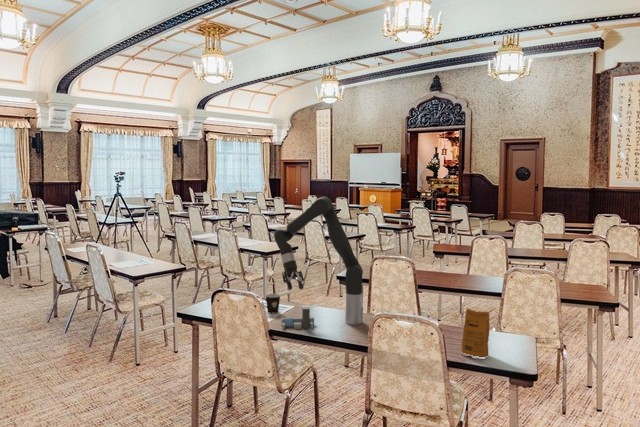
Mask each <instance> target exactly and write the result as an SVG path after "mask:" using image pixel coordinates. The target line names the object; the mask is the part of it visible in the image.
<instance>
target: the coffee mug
mask: <svg viewBox="0 0 640 427" xmlns="http://www.w3.org/2000/svg"><path fill="white" fill-rule="evenodd" d="M261 299H262V300H265V302H266V305H264V306H265V308H266V309H267V313H268V314H278V312H279V308H280V300H281V294H278V293H269V294H266V295H265V298H264V297H263V298H261Z"/></svg>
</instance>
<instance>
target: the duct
mask: <svg viewBox="0 0 640 427" xmlns="http://www.w3.org/2000/svg"><path fill="white" fill-rule="evenodd" d="M280 323H281V327H282V328H281V329H282V330H286V327H285V326H287V327H293V329H294V330H301V329H302V330H303V328H302V317H285V318H284V317H282V318H281V322H280ZM314 326H315V317H313V316H310V324H309V329H314Z"/></svg>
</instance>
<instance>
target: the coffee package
mask: <svg viewBox="0 0 640 427" xmlns="http://www.w3.org/2000/svg"><path fill="white" fill-rule="evenodd" d="M465 310H466V311H465V315H464V316H465V317H464V325H463V329H462V330H463V332H462V339H461V351H462V352H463V353H466V354H470V355H473V356H479V357H486V356H489V338H490V337H489V336H490V311H476V310H473V309H471V308H466V309H465Z"/></svg>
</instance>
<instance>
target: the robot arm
mask: <svg viewBox="0 0 640 427" xmlns="http://www.w3.org/2000/svg"><path fill="white" fill-rule="evenodd" d="M321 215H322V216H323V218H324V220H325V223H326V228H327V232H328V238H329V240H330V242H331V244H332V246H333V248H334V250H335V251H336V253H337V254H338V255H339V257H340V258H341V259H342V261H343V263H344V267H345V316H344V317H345V320H344V321H345V323H346V324H347V325H352V326H355V325H361V324H363V323H364V322H363V318H364V316H363V314H364V312H363V310H364V307H363V274H364V270H363V267H362V266H361V264H360V262H359V261H358V259H357V257H356V256H355V254H354V252H353V248H352V246H351V243H350V241H349V240H350V239H349V238H348V235H347V234H346V232H345V230H344V228H343V226H342V224H341V222H340V219H339V218H338V216H337V213H336V209H335V207H334V204H333V202H332V200H331V198H329V197H327V196H321V197H319V198H317V199H315V200H314V202H313V203H312V204H311V205H310V206H309V207H308V208H307V209H306V210H305V211H304V212H302V213H301V214H300V215H299V216H297V217H296V218H294V219H292V220H291V221H290V222H289V223H287V226H286V229H281V228H279V229H278V228H277V229H276V230H275V231H274V234H273V237H274V240H275V243H276V245H277V247H278V249H279V252H280V257H281V262H282V266H283V270H284V271H283V272H281V275H282V276H281V277H282V281H283V283H284V284H285V283H286V285H287V289H288V290H289V291H292V290H293V285H292V282H291V281H292V280H294V281H295V282H297V285H298V289H299V290H302V289H304V286H303V282H304V281H305V278H304V276H303V272H302V270H299V271H298V270H297V269H298V265H297V261H296V258H295V257H296V256H295V255H294V250H293V247H292V245H291V244H290V243H288V242H289V241H290V240H292V238H294V236H295V235H296V234H297V233H298V232H300V231H301V230H303V228H304V227H306V226H307V225H308V224H309V223H310V222H312V221H313V220H314V219H316V218H317V217H319V216H320V217H321Z"/></svg>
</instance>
